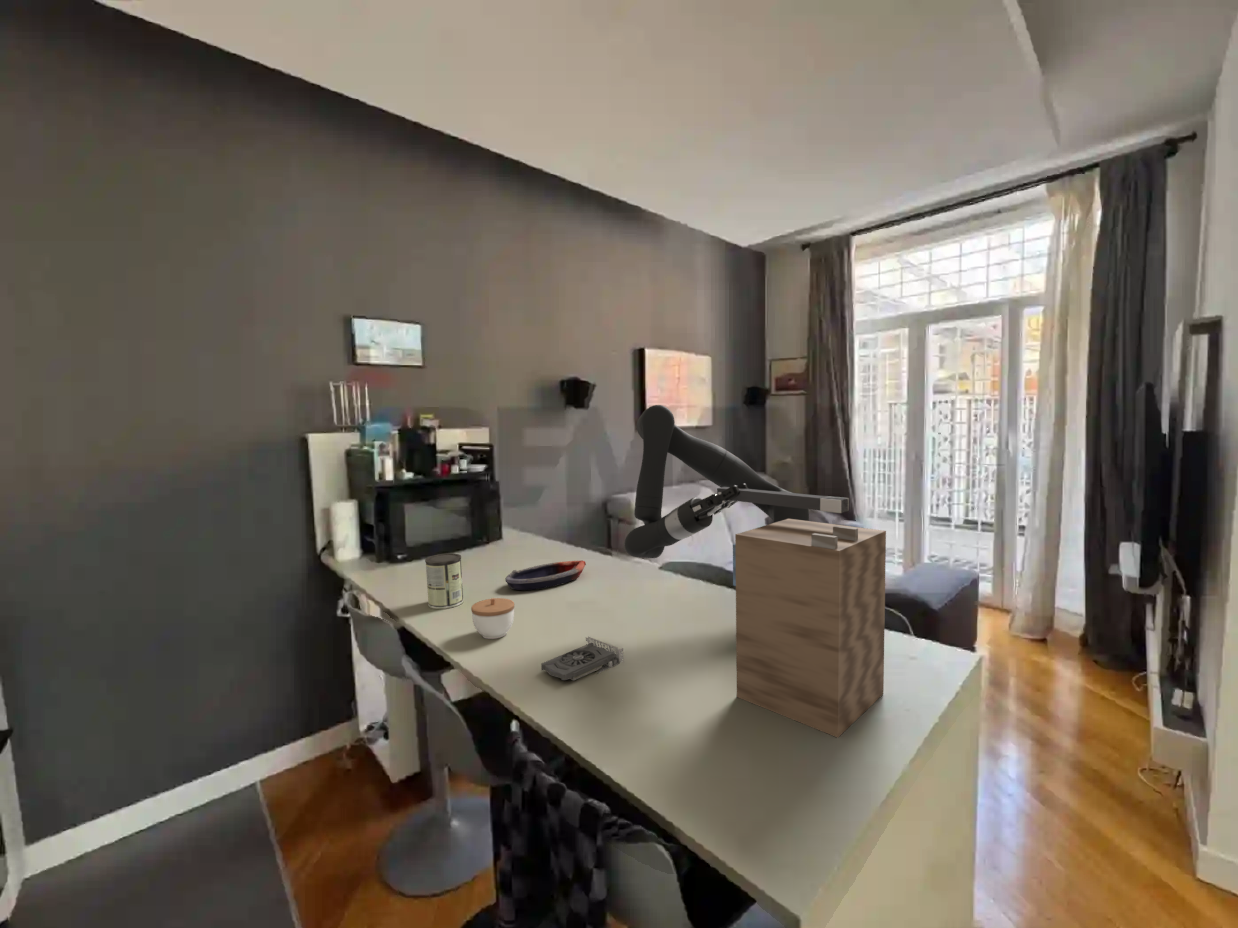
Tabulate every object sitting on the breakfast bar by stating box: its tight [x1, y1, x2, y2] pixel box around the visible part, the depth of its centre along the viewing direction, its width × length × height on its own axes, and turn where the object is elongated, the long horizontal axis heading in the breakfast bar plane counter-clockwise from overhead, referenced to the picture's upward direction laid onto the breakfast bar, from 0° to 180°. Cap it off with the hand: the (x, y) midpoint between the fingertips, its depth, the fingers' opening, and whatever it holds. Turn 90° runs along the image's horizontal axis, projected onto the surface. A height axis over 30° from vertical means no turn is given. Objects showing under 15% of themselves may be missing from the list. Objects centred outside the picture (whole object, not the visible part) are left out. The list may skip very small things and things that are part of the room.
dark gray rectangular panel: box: [716, 487, 850, 514], centre depth 114 cm, size 3×28×2 cm, turn 45°
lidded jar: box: [470, 597, 515, 640], centre depth 142 cm, size 11×11×9 cm
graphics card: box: [541, 636, 625, 681], centre depth 123 cm, size 17×4×12 cm
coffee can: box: [424, 552, 464, 610], centre depth 166 cm, size 10×10×14 cm
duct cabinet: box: [732, 519, 887, 739], centre depth 106 cm, size 20×21×34 cm
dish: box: [504, 560, 587, 591], centre depth 186 cm, size 16×31×5 cm, turn 127°
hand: (741, 488), depth 120 cm, fingers closed on dark gray rectangular panel, 3 cm apart
